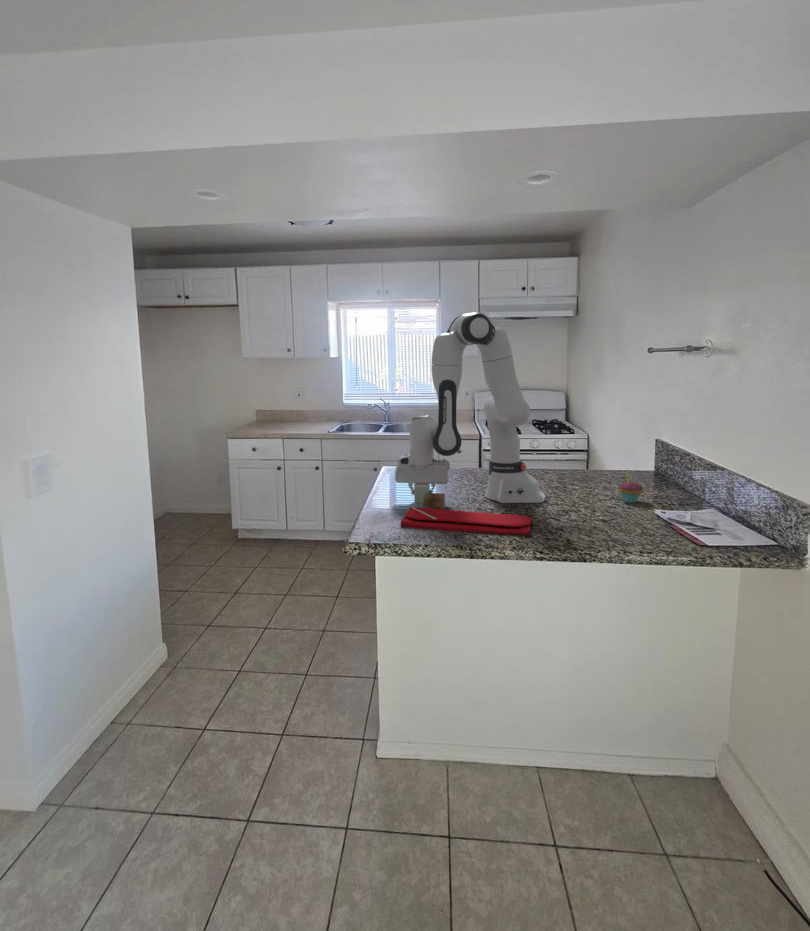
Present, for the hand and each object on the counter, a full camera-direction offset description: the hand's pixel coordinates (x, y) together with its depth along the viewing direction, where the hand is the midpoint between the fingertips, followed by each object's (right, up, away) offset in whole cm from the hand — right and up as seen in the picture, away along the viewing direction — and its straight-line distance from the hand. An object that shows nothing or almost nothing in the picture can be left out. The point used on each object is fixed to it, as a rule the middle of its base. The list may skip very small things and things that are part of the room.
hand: (422, 494), depth 208 cm
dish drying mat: (+14, -9, -27) cm, 32 cm away
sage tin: (0, -3, +1) cm, 3 cm away
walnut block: (+4, -5, -9) cm, 11 cm away
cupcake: (+77, -2, -3) cm, 77 cm away
